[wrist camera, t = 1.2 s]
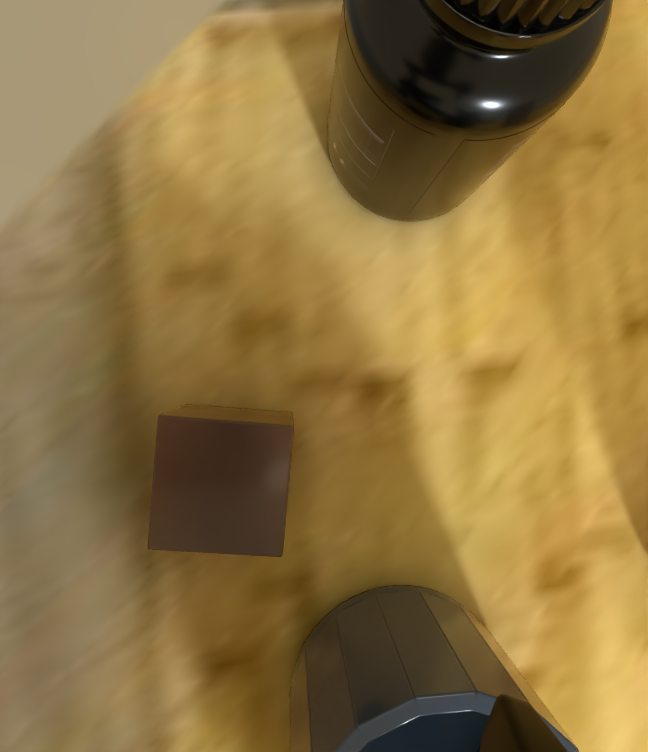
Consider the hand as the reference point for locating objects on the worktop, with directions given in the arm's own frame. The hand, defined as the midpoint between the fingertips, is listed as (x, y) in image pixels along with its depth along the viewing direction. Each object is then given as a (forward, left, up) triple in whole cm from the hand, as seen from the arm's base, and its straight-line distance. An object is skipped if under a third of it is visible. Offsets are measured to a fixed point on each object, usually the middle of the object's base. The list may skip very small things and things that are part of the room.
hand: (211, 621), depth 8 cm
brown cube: (-1, 0, -13) cm, 13 cm away
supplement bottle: (+11, +9, -13) cm, 20 cm away
